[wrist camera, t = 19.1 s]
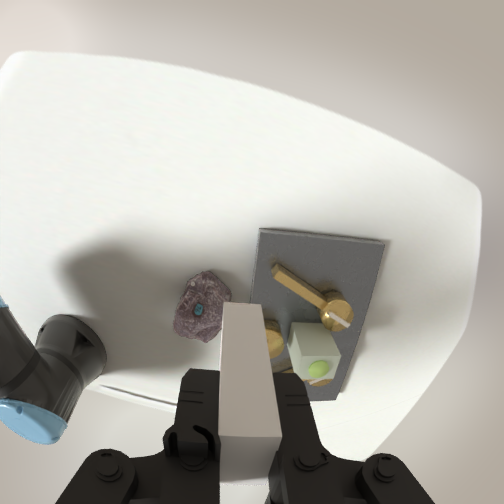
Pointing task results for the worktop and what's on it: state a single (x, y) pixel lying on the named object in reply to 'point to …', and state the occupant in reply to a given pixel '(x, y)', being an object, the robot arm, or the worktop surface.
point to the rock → (201, 307)
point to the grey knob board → (320, 278)
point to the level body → (312, 351)
